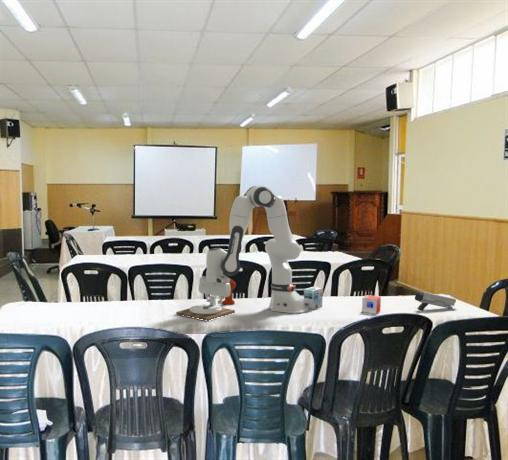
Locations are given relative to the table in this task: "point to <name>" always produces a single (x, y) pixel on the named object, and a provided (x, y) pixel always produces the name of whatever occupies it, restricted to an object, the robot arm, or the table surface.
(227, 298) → the toy drill
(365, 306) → the puzzle cube
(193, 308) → the dial
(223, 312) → the cardboard mat
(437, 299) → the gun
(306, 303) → the light bulb box
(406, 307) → the table surface
